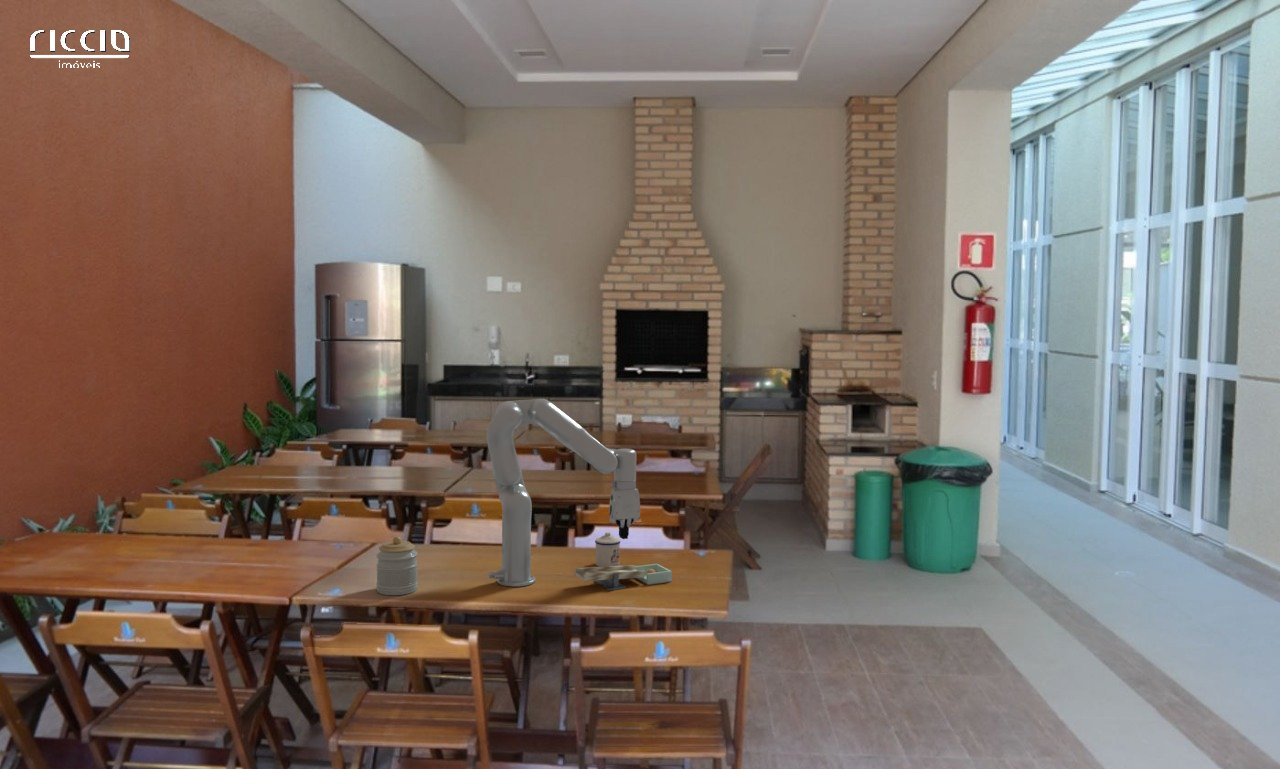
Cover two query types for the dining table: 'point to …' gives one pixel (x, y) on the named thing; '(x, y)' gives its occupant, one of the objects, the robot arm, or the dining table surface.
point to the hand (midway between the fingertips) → (623, 538)
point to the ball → (650, 571)
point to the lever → (608, 572)
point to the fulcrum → (611, 583)
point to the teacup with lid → (607, 550)
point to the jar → (397, 568)
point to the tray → (655, 574)
